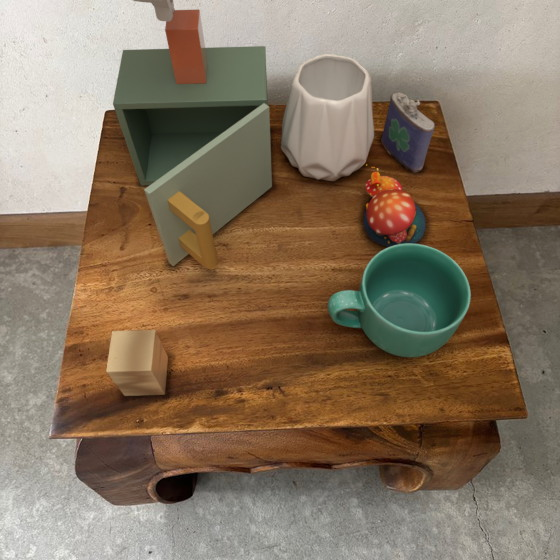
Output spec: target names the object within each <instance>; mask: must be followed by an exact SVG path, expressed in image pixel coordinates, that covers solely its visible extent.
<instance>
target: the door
mask: <svg viewBox="0 0 560 560" xmlns="http://www.w3.org/2000/svg"><path fill="white" fill-rule="evenodd" d="M270 117H271V116H270V106H269V105H266V104H265V103H263V104H262V105H261V106H259V107H258V108H256V109H255V110H254V111H252V112H251V113H249V114H248V115H247V116H245V117H244V118H243V119H241V120H240V121H238V122H237V123H236V124H234V125H233V126H231V127H230V128H229V129H227V130H226V131H225V132H223V133H222V134H220V135H219V136H218V137H216V138H215V139H213V140H212V141H211V142H209V143H208V144H206V145H205V146H204V147H202V148H201V149H200V150H198V151H197V152H195V153H194V154H193V155H191V156H190V157H188V158H187V159H186V160H184V161H183V162H182V163H180V164H179V165H177V166H176V167H175V168H173V169H172V170H170V171H169V172H168V173H166V174H165V175H163V176H162V177H161V178H159V179H158V180H157V181H155V182H154V183H152V184H151V185H147V186H146V187H145V188H144V189H143V190H144V194H145V197H146V200H147V203H148V205H149V209H150V212H151V214H152V218H153V220H154V223H155V226H156V229H157V232H158V235H159V238H160V241H161V244H162V248H163V250H164V253H165V256H166V258H167V261H168V264H169V265H171V266H172V267H175V266H176V265H178V264H179V263H180V262H181V261H182V260H183V259H184V258H186V257H187V256H188V255H189V256H191V257H192V258H193V259H194V260H195V261H197V262H198V263H199V264H200V265H202V267H204V268H205V269H207V270H213V269H216V268H217V266H218V265H219V259H218V255H217V254H218V253H217V249H216V244H215V240H214V234H215V233H217V232H218V231H219V230H220V229H221V228H223V227H224V226H225V225H226V224H228V223H229V222H230V221H232V220H233V219H234V218H235V217H236V216H238V215H239V214H241V213H242V212H243V211H244V210H245V209H246V208H247V207H249V206H250V205H251V204H253V203H254V202H255V201H256V200H257V199H259V198H260V197H262V195H264V194H265V193H266V192H268V191H269V190H270V189H271V188H273V177H272V172H273V171H272V146H271V144H272V143H271V121H270V119H271V118H270Z"/></svg>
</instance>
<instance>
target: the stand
mask: <svg viewBox="0 0 560 560" xmlns="http://www.w3.org/2000/svg"><path fill="white" fill-rule="evenodd" d="M108 349H109V350H108V357H107V364H106V370H105V372H106V373H107V375H108V376H109V377H110V379H111V380H112V382H113V383H114V384H115V386H116V387H117V388H118V389H119V391H120V392H121V393H122V395H123V396H124V397H134V396H135V397H136V396H137V397H138V396H139V397H140V396H164V395H166V386H167V376H168V363H169V356H168V354H167V352H166V350H165V348H164V346H163V344H162V341H161V340H160V337H159V335H158V333H157V331H156V329H139V330H136V329H135V330H112V331H111V336H110V343H109V348H108Z"/></svg>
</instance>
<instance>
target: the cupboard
mask: <svg viewBox="0 0 560 560" xmlns="http://www.w3.org/2000/svg"><path fill="white" fill-rule="evenodd" d="M266 47H267V46H266V45H258V46H257V45H255V46H220V47H216V46H215V47H205V50H206V57H207V79H206V83H201V84H176V80H175V75H174V71H173V66H172V61H171V56H170V51H169V48H147V49H145V48H143V49H122V53H121V58H120V59H121V60H120V63H119V68H118V69H119V70H118V75H117V79H116V85H115V90H114V94H113V95H114V96H113V100H112V105H113V109H114V111H115V114H116V117H117V121H118V123H119V127H120V129H121V132H122V135H123V138H124V140H125V141H124V142H125V144H126V146H127V149H128V153H129V155H130V158H131V161H132V165H133V167H134V170H135V173H136V176H137V178H138V181H139V185H140V186H150V185H151V184H152V183H154V182H155V181H157V180H158V179H159V178H161V177H162V176H163V175H165V174H166V173H168V172H169V171H170V170H172V169H173V168H175V167H176V166H177V165H179V164H180V163H182V162H183V161H184V160H186V159H187V158H188V157H190V156H191V155H193V154H194V153H195V152H197V151H198V150H200V149H201V148H202V147H204V146H205V145H206V144H208V143H209V142H211V141H212V140H213V139H215V138H216V137H218V136H219V135H220V134H222V133H223V132H225V131H226V130H227V129H229V128H230V127H231V126H233V125H234V124H236V123H237V122H238V121H240V120H241V119H243V118H244V117H245V116H247V115H248V114H249V113H251V112H252V111H254V110H255V109H256V108H258V107H259V106H261V105H262V104H263V103H265V104H266V105H268V79H267V78H268V77H267V52H266V51H267V50H266ZM268 106H269V105H268Z"/></svg>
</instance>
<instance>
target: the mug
mask: <svg viewBox="0 0 560 560" xmlns="http://www.w3.org/2000/svg"><path fill="white" fill-rule="evenodd" d="M359 284H360V285H359V289H358V290H353V289H346V290H340V291H337V292H335V293H333V294H332V295H331V296H330V297H329V298H328V301H327V310H328V314H329V316H330V318H331V320H332V321H333V322H334V323H335V324H337V325H339V326H342V327H347V328H353V329H354V328H355V329H362V331H363V333H364V334H365V335H366V337H367V338H368V339H369V340H370V341H371V342H372V343H373V344H374V345H375V346H376V347H378V348H379V349H381V350H383V352H386V353H388V354H391V355H394V356H396V357H402V358H421V357H424V356H427V355H430V354H432V353H435V352H436V351H438V350H439V349H441V348H442V347H443V346H444V345H445V344H447V343H448V342H449V340H450V339H451V338H452V337H453V335H454V334H455V333H456V331H457V330H458V329H459V326H460V325H461V323H462V321H463V320H464V318H465V316H466V314H467V312H468V311H469V308H470V304H471V297H472V293H471V286H470V282H469V280H468V278H467V275H466V274H465V272H464V271H463V268H462V267H461V266H460V265H459V264H458V263H457V262H456V261H455V260H454V259H453V258H452V257H450V256H449V255H448V254H446V253H445V252H444V251H441V250H439V249H437V248H435V247H432V246H429V245H425V244H422V243H421V244H420V243H415V244H414V243H406V244H398V245H394V246H391V247H386V248H384V249H382V250H380V251H378V252H377V253H376V254H375V255H374V256H372V258H371V259H370V260H369V262H367V265H366V266H365V269H364V271H363V272H362V277H361V280H360V283H359Z"/></svg>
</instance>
